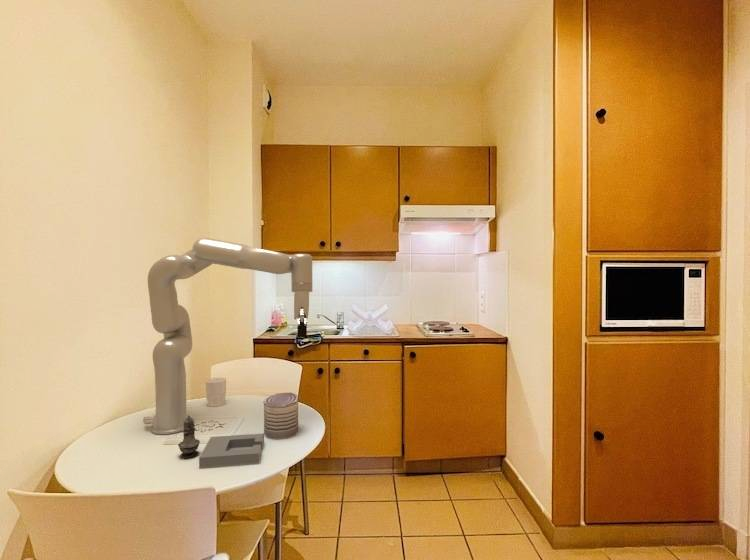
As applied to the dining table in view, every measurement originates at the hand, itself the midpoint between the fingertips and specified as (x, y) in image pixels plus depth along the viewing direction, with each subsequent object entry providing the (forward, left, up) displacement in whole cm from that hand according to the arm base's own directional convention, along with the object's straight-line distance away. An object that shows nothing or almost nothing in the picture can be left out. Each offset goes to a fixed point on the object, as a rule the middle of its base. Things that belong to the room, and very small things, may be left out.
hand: (302, 334), depth 147 cm
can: (-7, -11, -32) cm, 34 cm away
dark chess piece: (-33, -23, -31) cm, 51 cm away
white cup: (-35, +23, -32) cm, 52 cm away
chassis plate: (-20, -25, -31) cm, 45 cm away
